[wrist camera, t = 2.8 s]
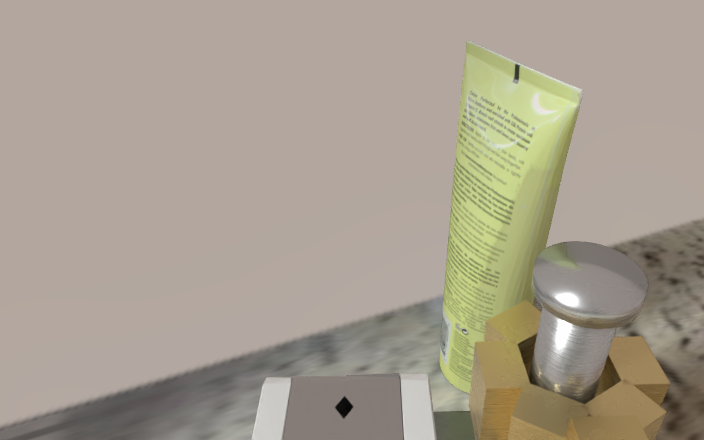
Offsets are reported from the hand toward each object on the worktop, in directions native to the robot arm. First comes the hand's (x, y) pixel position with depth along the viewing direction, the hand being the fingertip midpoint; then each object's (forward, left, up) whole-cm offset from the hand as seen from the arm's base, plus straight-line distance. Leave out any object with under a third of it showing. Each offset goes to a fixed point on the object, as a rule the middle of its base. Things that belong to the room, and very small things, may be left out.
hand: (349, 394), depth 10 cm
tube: (+7, +16, -19) cm, 25 cm away
